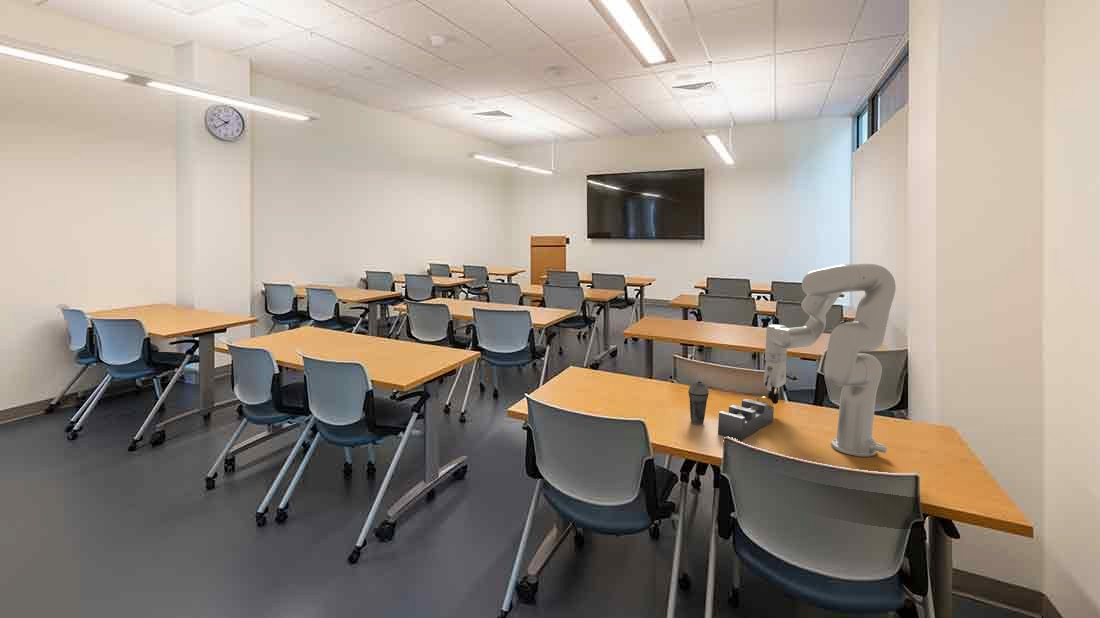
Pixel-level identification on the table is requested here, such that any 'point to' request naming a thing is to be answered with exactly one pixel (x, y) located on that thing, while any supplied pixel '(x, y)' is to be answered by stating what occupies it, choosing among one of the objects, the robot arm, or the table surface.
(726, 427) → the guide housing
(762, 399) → the shaft
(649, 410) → the table surface
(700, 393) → the beverage cup
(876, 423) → the table surface
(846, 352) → the robot arm
